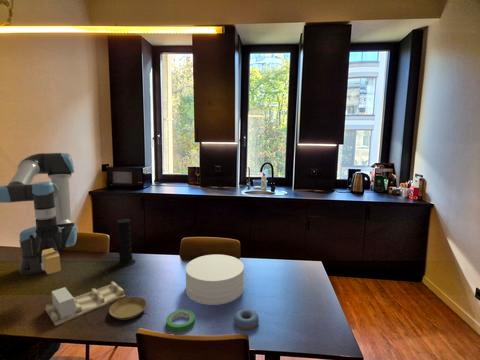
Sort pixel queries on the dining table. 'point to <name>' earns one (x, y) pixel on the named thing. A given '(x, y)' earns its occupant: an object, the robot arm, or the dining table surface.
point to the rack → (89, 302)
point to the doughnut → (246, 319)
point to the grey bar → (63, 302)
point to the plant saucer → (128, 308)
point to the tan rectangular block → (51, 261)
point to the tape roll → (180, 327)
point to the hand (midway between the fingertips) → (50, 267)
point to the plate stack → (214, 279)
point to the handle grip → (124, 243)
